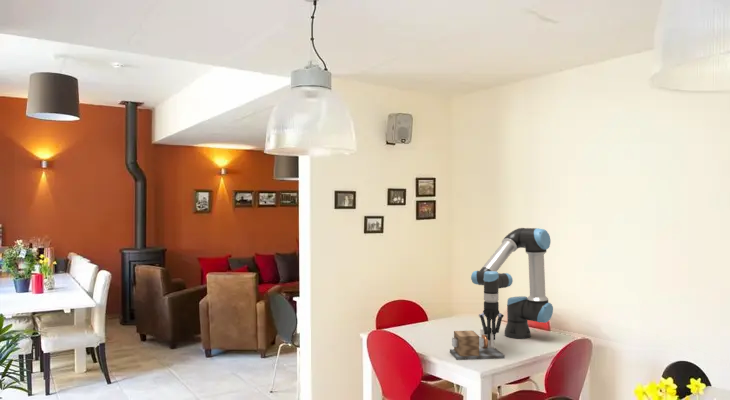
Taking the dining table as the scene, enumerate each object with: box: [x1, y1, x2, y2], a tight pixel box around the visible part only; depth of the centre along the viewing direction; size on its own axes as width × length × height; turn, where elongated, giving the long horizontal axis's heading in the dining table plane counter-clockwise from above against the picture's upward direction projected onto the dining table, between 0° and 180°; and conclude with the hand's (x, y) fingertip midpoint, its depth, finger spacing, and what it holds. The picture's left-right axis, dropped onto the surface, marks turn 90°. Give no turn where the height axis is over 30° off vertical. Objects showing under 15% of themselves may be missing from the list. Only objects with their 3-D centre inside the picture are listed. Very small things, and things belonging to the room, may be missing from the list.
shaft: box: [451, 335, 488, 349], centre depth 283 cm, size 18×7×7 cm, turn 95°
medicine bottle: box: [478, 325, 495, 349], centre depth 295 cm, size 7×7×12 cm
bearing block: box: [449, 330, 506, 361], centre depth 283 cm, size 25×14×12 cm, turn 95°
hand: (491, 346), depth 284 cm, fingers closed
